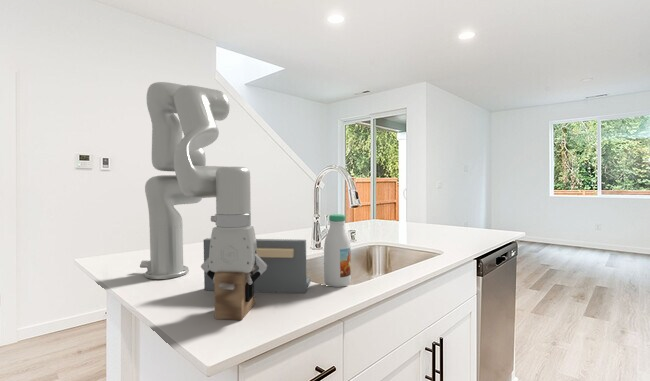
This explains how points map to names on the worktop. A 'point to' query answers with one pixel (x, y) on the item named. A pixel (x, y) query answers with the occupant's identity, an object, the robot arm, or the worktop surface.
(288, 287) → the wall board
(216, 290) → the cabinet
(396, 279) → the worktop surface
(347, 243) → the milk bottle
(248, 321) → the worktop surface
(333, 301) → the worktop surface
